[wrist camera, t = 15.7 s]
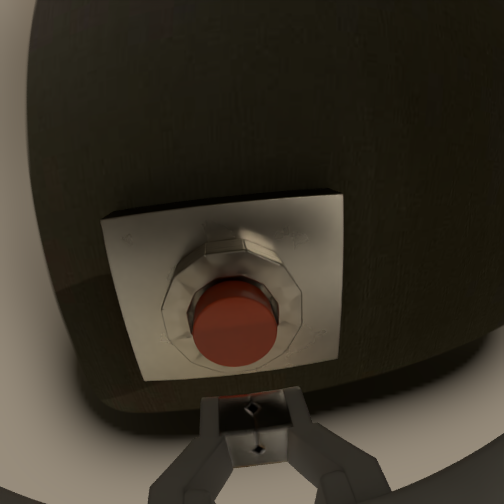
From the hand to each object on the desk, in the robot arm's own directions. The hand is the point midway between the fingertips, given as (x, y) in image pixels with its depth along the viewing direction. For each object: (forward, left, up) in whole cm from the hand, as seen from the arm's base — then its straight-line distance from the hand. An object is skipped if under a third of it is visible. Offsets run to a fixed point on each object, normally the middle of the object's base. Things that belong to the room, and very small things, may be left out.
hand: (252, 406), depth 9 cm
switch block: (0, 0, -10) cm, 10 cm away
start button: (0, 0, -6) cm, 6 cm away
